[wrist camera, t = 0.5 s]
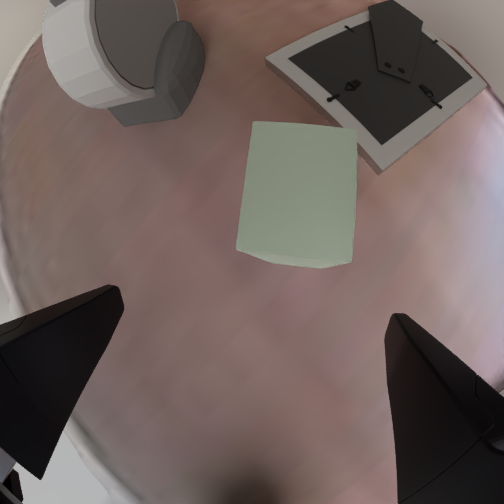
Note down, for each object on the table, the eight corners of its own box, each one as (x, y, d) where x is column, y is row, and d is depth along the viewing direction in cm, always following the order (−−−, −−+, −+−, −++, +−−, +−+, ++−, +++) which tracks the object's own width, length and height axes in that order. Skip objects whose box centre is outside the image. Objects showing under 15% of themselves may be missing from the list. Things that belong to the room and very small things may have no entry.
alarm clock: (142, 42, 28) (73, -45, 10) (214, 26, 26) (162, -86, 8) (107, 143, 27) (-15, 63, 9) (191, 132, 25) (74, -5, 7)
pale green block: (321, 268, 22) (351, 262, 9) (271, 263, 23) (235, 249, 10) (327, 206, 22) (357, 129, 9) (278, 201, 23) (253, 121, 10)
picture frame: (388, 13, 23) (266, 69, 25) (392, -1, 20) (263, 52, 22) (480, 93, 21) (376, 178, 22) (490, 82, 18) (384, 167, 20)
